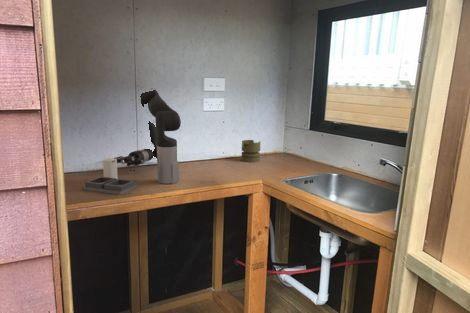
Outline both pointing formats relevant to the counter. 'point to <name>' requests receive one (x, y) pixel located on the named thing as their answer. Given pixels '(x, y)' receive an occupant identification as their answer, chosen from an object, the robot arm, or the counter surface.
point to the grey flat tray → (110, 185)
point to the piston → (250, 151)
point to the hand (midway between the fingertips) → (120, 163)
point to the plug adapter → (110, 168)
